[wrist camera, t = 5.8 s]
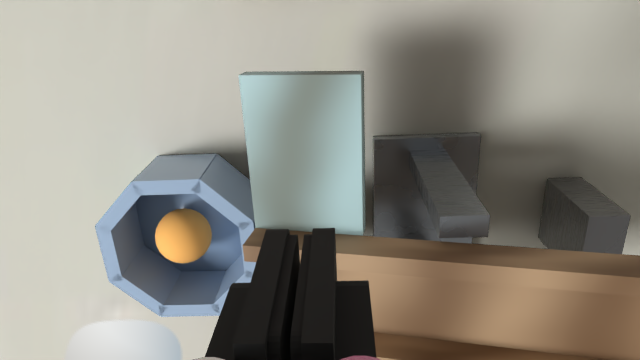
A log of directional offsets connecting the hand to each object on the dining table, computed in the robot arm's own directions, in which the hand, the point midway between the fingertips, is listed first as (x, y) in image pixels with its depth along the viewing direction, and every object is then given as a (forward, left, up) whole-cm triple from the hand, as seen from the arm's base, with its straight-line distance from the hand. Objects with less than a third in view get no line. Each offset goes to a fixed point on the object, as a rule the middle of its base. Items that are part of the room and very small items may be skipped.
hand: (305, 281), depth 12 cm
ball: (+8, +7, -15) cm, 18 cm away
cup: (+8, +7, -17) cm, 20 cm away
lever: (-6, +3, -9) cm, 11 cm away
